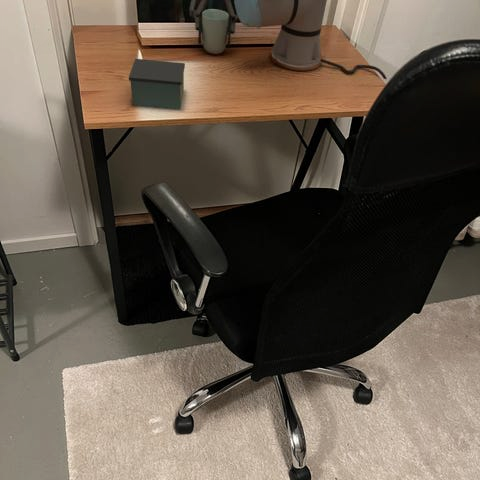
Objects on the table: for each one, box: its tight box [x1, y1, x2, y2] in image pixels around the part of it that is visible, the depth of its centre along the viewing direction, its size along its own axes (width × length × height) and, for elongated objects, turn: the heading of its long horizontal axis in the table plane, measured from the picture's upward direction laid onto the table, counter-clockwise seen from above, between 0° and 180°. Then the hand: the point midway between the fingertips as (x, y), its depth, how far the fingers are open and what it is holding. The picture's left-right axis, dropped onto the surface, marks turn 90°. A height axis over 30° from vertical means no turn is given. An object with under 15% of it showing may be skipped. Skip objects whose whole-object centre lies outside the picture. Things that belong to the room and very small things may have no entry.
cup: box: [201, 8, 230, 55], centre depth 137 cm, size 8×8×10 cm
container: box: [128, 58, 186, 110], centre depth 117 cm, size 13×11×7 cm
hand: (214, 42), depth 136 cm, fingers closed on cup, 8 cm apart
